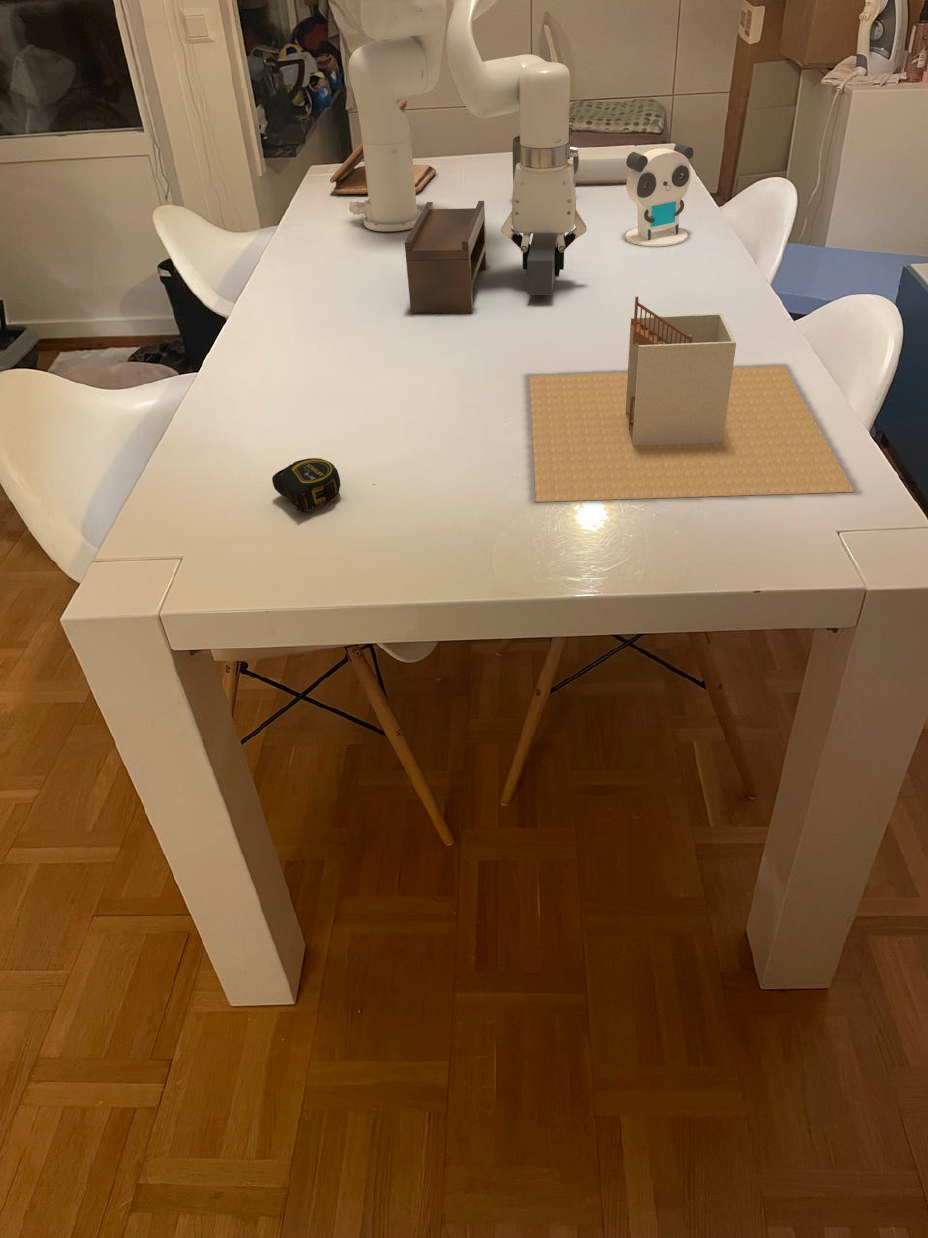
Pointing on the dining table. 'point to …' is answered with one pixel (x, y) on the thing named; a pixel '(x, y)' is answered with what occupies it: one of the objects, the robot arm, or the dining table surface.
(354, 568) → the dining table surface
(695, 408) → the staircase
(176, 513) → the dining table surface
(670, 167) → the panda standee
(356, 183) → the case
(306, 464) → the tape measure
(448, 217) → the shelf
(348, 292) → the dining table surface
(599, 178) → the tube
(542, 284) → the case
